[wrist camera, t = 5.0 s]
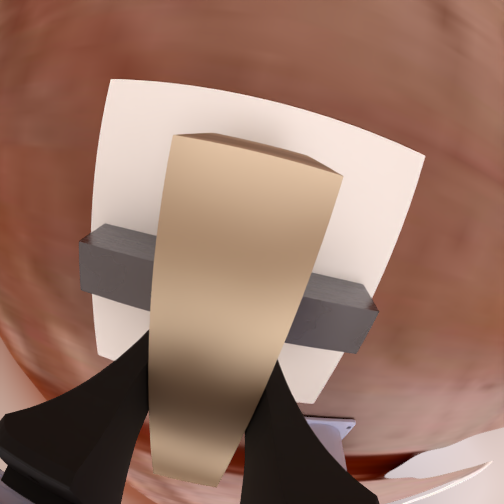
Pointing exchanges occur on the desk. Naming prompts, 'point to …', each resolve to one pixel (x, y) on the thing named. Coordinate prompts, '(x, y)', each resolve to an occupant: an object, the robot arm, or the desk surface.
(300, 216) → the oak bar
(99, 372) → the robot arm
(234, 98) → the stand
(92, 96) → the desk surface
